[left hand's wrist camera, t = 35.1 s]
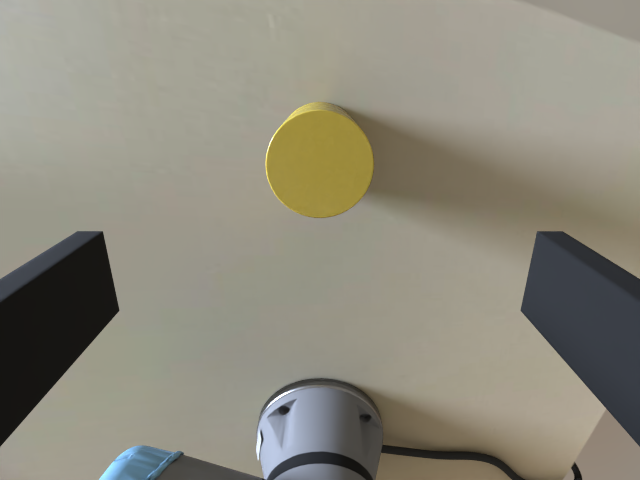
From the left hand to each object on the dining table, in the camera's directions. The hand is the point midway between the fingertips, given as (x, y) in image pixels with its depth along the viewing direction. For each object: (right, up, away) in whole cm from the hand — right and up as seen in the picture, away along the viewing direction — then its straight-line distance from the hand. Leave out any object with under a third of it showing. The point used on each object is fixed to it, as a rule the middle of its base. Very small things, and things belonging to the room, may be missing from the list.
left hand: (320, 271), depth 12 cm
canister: (0, +10, +25) cm, 27 cm away
